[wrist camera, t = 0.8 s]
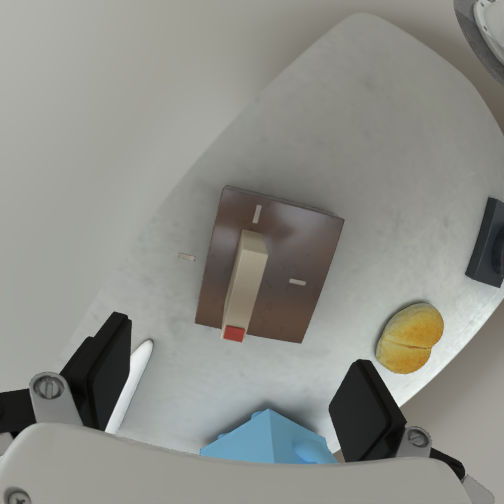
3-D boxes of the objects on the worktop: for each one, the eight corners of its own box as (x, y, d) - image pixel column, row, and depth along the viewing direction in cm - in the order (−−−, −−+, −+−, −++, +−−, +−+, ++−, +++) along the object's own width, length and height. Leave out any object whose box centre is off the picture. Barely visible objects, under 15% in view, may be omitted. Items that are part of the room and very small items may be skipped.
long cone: (195, 362, 32) (118, 431, 33) (153, 326, 31) (85, 405, 33) (187, 389, 26) (106, 456, 28) (137, 349, 25) (68, 427, 27)
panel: (198, 179, 24) (192, 181, 21) (334, 213, 25) (345, 220, 22) (175, 302, 28) (168, 318, 25) (296, 327, 29) (301, 344, 26)
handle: (242, 228, 23) (242, 250, 17) (262, 233, 23) (268, 256, 17) (224, 302, 24) (220, 340, 19) (243, 306, 24) (243, 345, 19)
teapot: (245, 471, 37) (247, 540, 24) (190, 446, 35) (179, 523, 21) (357, 405, 33) (390, 485, 20) (306, 369, 31) (334, 469, 17)
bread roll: (444, 306, 29) (462, 321, 25) (411, 365, 31) (424, 384, 28) (398, 292, 28) (416, 309, 24) (362, 359, 30) (374, 380, 27)
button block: (488, 197, 25) (507, 202, 22) (518, 217, 26) (535, 223, 23) (465, 274, 28) (482, 285, 25) (496, 285, 29) (512, 294, 25)
